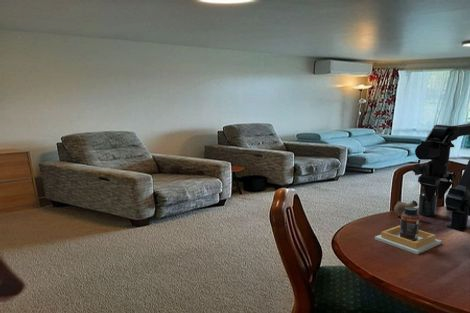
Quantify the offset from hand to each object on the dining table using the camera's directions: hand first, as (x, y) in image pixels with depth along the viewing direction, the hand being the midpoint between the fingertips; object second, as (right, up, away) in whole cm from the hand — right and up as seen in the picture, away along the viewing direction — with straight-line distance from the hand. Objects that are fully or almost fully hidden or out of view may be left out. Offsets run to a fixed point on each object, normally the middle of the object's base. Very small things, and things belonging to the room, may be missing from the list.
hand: (434, 200), depth 143 cm
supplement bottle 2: (+10, -9, +25) cm, 28 cm away
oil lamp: (-2, -10, +20) cm, 23 cm away
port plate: (-12, -14, -6) cm, 20 cm away
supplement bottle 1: (-12, -13, -6) cm, 19 cm away
